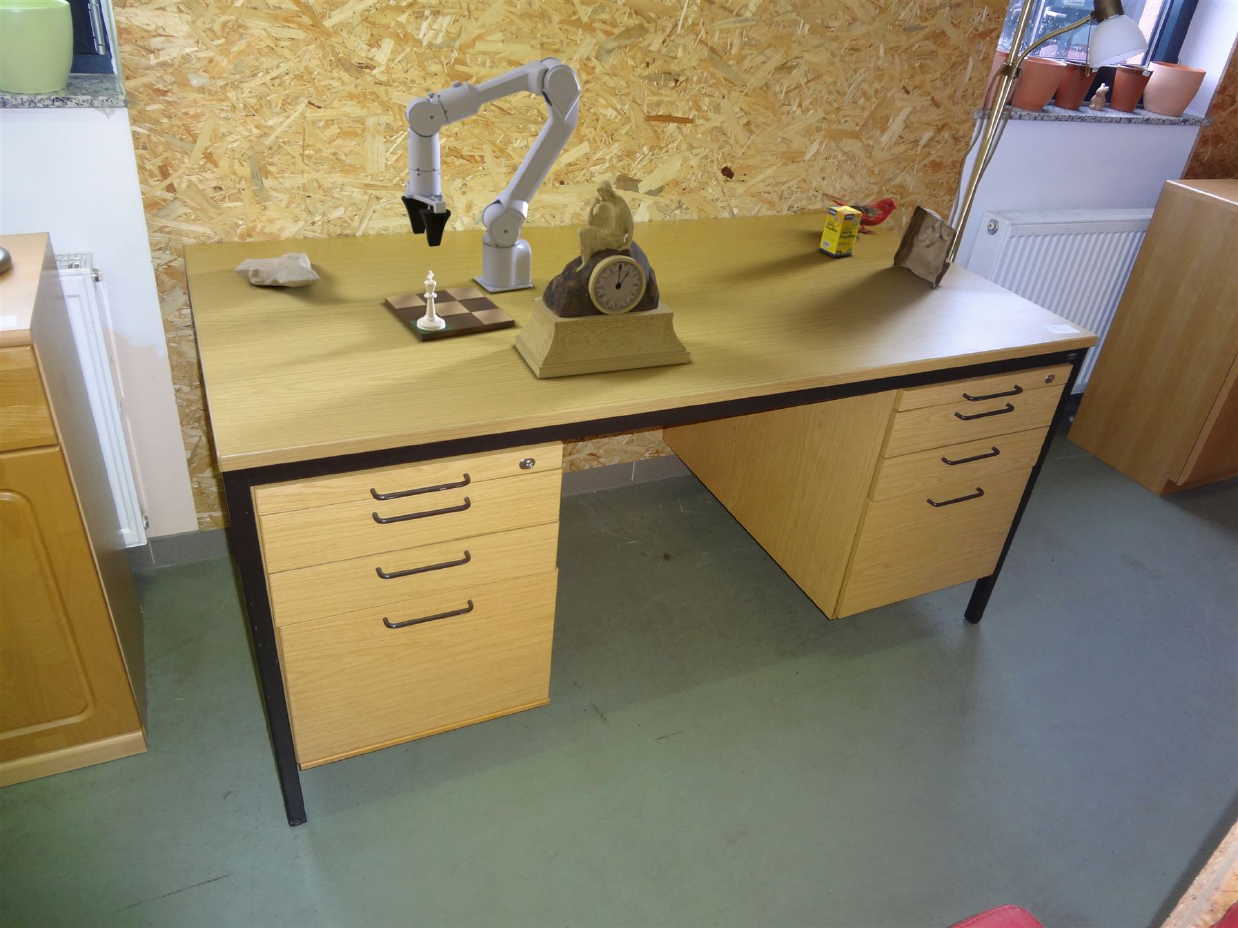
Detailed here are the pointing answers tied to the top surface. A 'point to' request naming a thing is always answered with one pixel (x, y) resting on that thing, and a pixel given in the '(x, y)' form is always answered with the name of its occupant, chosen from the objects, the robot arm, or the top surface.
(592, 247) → the decorative clock
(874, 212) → the decorative bird figurine
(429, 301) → the chess piece
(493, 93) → the robot arm
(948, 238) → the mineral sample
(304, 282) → the rock
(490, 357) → the top surface
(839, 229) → the supplement box
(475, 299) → the game board
